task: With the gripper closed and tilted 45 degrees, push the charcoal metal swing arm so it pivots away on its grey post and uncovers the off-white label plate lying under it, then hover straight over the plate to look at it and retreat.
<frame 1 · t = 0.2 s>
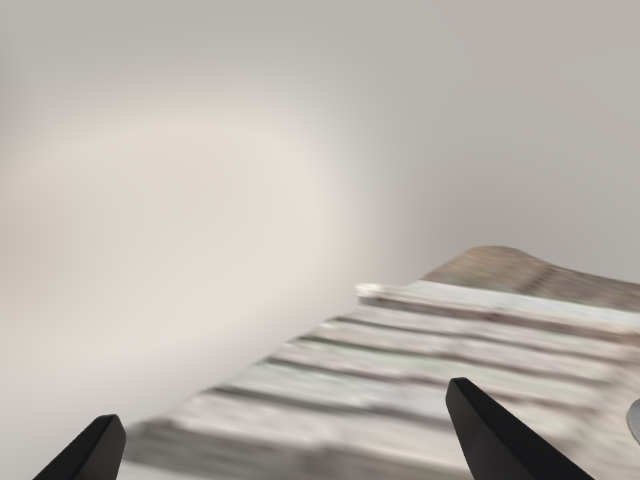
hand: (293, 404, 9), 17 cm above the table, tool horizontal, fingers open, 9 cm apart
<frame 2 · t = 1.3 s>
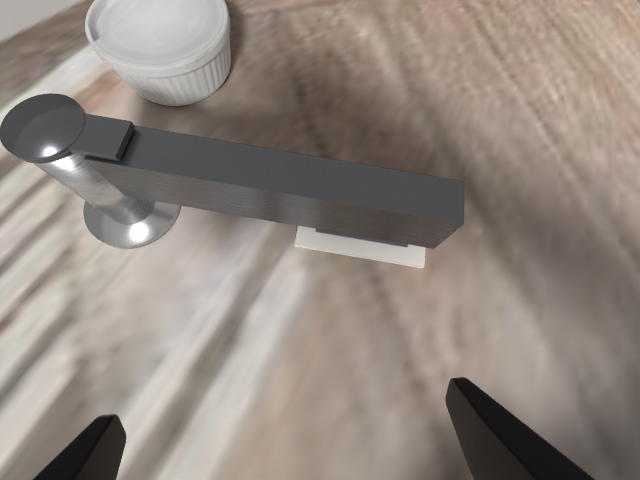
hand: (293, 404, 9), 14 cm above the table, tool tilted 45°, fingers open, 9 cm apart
post: (135, 206, 25), on the table
ramekin: (181, 71, 31), on the table
swing arm: (242, 180, 18), point 7 cm above the table, hinge at 0.0°
label plate: (362, 222, 26), on the table
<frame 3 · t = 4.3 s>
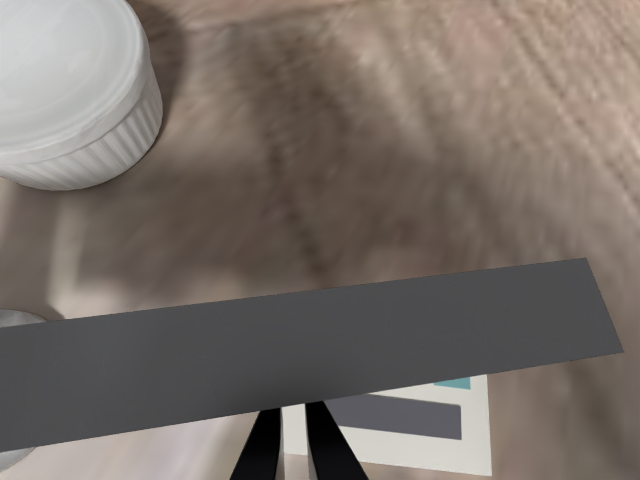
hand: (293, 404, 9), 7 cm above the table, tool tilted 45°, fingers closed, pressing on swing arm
ramekin: (85, 126, 19), on the table
swing arm: (156, 365, 9), point 7 cm above the table, hinge at 14.4°, touching gripper
label plate: (383, 389, 16), on the table
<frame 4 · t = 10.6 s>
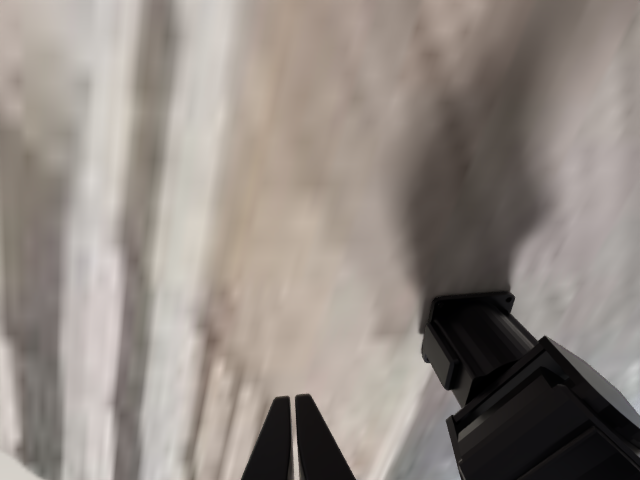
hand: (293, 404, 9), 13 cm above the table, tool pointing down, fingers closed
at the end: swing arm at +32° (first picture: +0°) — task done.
